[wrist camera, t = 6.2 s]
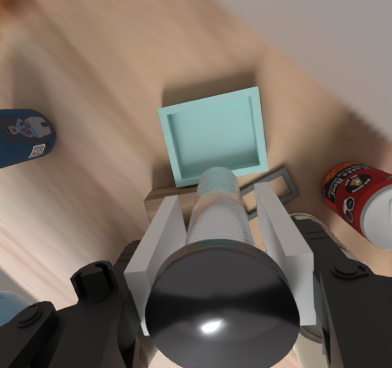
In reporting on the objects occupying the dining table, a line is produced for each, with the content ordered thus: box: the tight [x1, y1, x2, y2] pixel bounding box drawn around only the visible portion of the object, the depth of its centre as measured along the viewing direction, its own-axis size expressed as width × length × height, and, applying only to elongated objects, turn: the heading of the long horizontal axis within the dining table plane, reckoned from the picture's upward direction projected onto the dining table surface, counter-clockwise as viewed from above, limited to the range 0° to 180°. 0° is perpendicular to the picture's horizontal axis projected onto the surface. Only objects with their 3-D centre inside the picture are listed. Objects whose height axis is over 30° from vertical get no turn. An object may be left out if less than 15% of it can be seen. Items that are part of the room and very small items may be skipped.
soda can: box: [0, 109, 55, 168], centre depth 30 cm, size 7×7×12 cm
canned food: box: [322, 162, 392, 251], centre depth 30 cm, size 8×8×11 cm
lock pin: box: [145, 167, 300, 368], centre depth 12 cm, size 4×4×12 cm
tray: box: [157, 86, 268, 187], centre depth 33 cm, size 13×11×3 cm
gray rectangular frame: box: [240, 166, 300, 221], centre depth 37 cm, size 9×5×1 cm, turn 122°
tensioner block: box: [144, 184, 198, 234], centre depth 35 cm, size 14×10×8 cm
